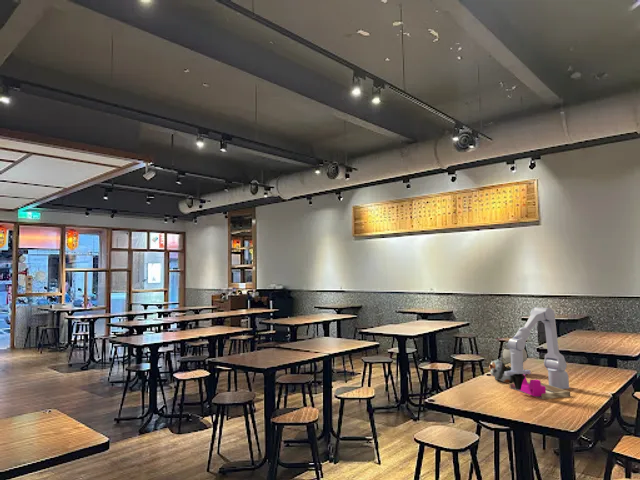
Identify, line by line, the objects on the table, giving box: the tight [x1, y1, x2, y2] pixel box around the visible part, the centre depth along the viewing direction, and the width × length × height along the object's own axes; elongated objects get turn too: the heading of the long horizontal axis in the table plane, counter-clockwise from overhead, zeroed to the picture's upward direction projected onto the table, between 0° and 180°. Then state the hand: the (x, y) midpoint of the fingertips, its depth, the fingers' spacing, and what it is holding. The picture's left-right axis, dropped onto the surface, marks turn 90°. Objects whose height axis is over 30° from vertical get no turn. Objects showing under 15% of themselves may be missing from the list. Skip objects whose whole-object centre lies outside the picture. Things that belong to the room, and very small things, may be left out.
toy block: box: [521, 376, 546, 397], centre depth 230 cm, size 15×6×8 cm, turn 8°
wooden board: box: [508, 381, 571, 400], centre depth 231 cm, size 16×24×2 cm
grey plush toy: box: [488, 358, 514, 384], centre depth 257 cm, size 15×12×14 cm
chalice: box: [502, 347, 528, 376], centre depth 275 cm, size 14×14×15 cm
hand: (518, 389), depth 228 cm, fingers closed
